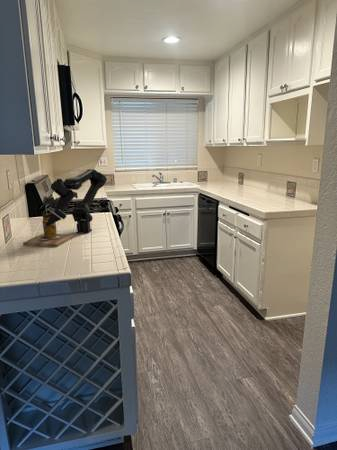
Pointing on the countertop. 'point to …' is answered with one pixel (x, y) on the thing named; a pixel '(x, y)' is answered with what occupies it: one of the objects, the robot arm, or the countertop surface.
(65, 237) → the walnut board
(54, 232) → the condiment
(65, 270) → the countertop surface
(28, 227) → the countertop surface
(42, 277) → the countertop surface
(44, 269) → the countertop surface
